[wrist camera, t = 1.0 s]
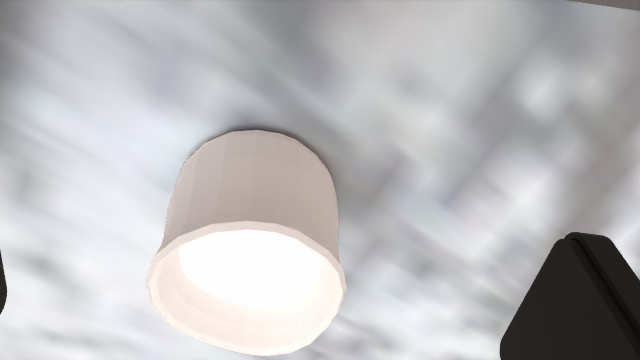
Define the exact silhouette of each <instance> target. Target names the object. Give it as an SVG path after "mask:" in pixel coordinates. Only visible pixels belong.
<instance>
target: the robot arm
mask: <svg viewBox="0 0 640 360" xmlns="http://www.w3.org/2000/svg"><path fill="white" fill-rule="evenodd" d="M6 297H7V286H6V280H5V275H4V269H3V263H2V258H1V252H0V314H1V312H2V310H3V308H4V305H5V302H6ZM500 358H501V360H640V280H639V279H638V277H637V276H636V275H635V273H634V272H633V270H632V269H631V268H630V266H629V265H628V263H627V262H626V260H625V259H624V258H623V256H622V255H621V253H620V252H619V251H618V249H617V248H616V246H615V245H614V243H613V242H612V241H611V240H610V239H609V238H608V237H605V236H602V235H594V234H586V233H579V232H572V233H569V234H568V235H566V237H565V238H564V239H559V240H558V241H557V242H556V243H555V244H554V246H553V248H552V249H551V251H550V253H549V255H548V257H547V258H546V260H545V262H544V264H543V266H542V267H541V269H540V271H539V273H538V275H537V276H536V278H535V280H534V282H533V284H532V285H531V287H530V289H529V291H528V293H527V294H526V296H525V298H524V300H523V302H522V303H521V305H520V307H519V309H518V311H517V312H516V314H515V316H514V318H513V320H512V321H511V323H510V325H509V327H508V329H507V330H506V332H505V334H504V336H503V338H502V340H501V343H500Z"/></svg>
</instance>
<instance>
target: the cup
mask: <svg viewBox="0 0 640 360" xmlns="http://www.w3.org/2000/svg"><path fill="white" fill-rule="evenodd" d="M338 223H339V215H338V205H337V195H336V192H335V188H334V185H333V181H332V178H331V175H330V173H329V172H328V170H327V168H326V167H325V165H324V164H323V163H322V162H321V160H320V159H319V158H318V156H317V155H316V154H315V153H313V152H312V151H311V150H309V149H308V148H307V147H305V146H304V145H303V144H301V143H300V142H299V141H297V140H295V139H293V138H290V137H288V136H285V135H283V134H280V133H274V132H268V131H261V130H249V131H234V132H229V133H227V134H224V135H222V136H219V137H217V138H215V139H212V140H210V141H207V142H205V143H204V144H203V145H202V146H201V147H200V148H199V149H198V150H197V151H196V152H195V153H194V154H193V155H192V156H191V157H190V158H189V159H188V160H187V161H186V162H185V163H184V165H183V167H182V169H181V172H180V174H179V176H178V179H177V181H176V184H175V186H174V190H173V193H172V196H171V200H170V203H169V206H168V210H167V218H166V225H165V232H164V238H163V241H162V245H161V247H160V248H159V250H158V252H157V253H156V254H155V256H154V258H153V260H152V263H151V265H150V268H149V270H148V273H147V275H146V277H145V281H146V285H147V289H148V293H149V297H150V301H151V304H152V305H153V307H154V308H155V309H156V310H157V311H158V313H159V314H160V315H161V316H162V317H163V318H164V320H165V321H166V322H167V323H168V324H169V325H170V326H172V327H174V328H176V329H177V330H179V331H181V332H183V333H185V334H186V335H188V336H190V337H192V338H194V339H197V340H200V341H203V342H205V343H208V344H211V345H213V346H217V347H221V348H224V349H228V350H232V351H236V352H239V353H244V354H253V355H261V356H269V355H277V354H285V353H291V352H293V351H295V350H297V349H300V348H302V347H304V346H306V345H309V344H310V343H311V342H312V341H313V340H314V339H316V338H317V337H318V336H319V335H320V334H321V333H322V332H323V331H324V330H325V329H326V328H327V327H328V326H329V325H330V323H331V322H332V320H333V319H334V317H335V316H336V314H337V313H338V311H339V310H340V308H341V306H342V302H343V299H344V295H345V292H346V289H347V286H346V282H345V278H344V273H343V269H342V266H341V264H340V261H339V256H338Z"/></svg>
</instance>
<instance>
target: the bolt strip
mask: <svg viewBox="0 0 640 360" xmlns="http://www.w3.org/2000/svg"><path fill="white" fill-rule="evenodd" d="M569 1H576V2H583V3H589V4H596V5H603V6H610V7H617V8H623V9H630V10H637V11H640V0H569Z"/></svg>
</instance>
